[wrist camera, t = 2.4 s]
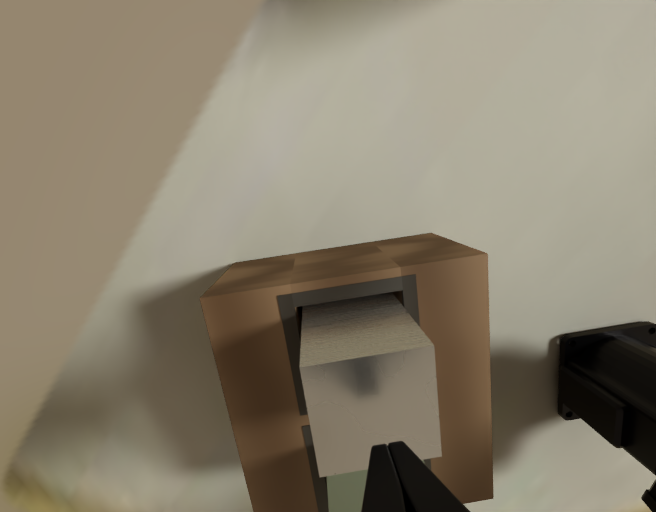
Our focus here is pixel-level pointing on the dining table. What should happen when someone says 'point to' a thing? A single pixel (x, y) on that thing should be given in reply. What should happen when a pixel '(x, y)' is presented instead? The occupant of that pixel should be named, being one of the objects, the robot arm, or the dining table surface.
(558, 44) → the dining table surface
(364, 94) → the dining table surface
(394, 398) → the steel peg
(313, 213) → the dining table surface
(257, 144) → the dining table surface
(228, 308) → the walnut block
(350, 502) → the sage peg
